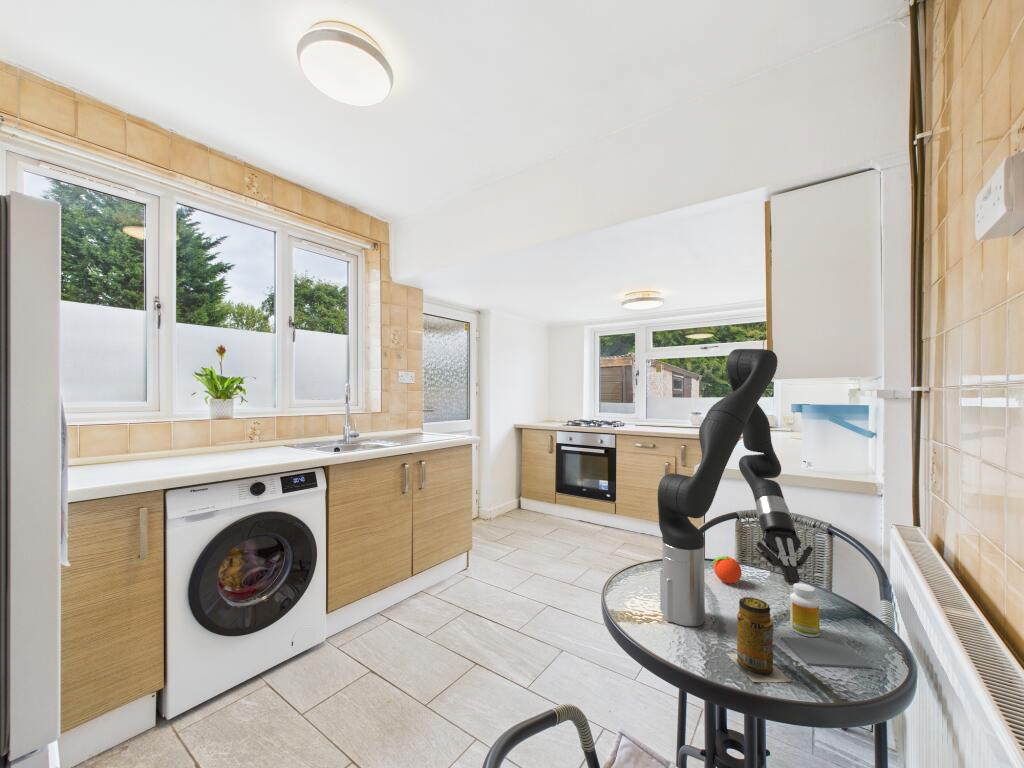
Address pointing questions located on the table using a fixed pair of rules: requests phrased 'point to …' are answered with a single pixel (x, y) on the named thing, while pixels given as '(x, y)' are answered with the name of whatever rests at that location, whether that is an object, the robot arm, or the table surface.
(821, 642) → the mat
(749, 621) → the condiment
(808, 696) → the table surface
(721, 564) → the clementine
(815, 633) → the supplement bottle
